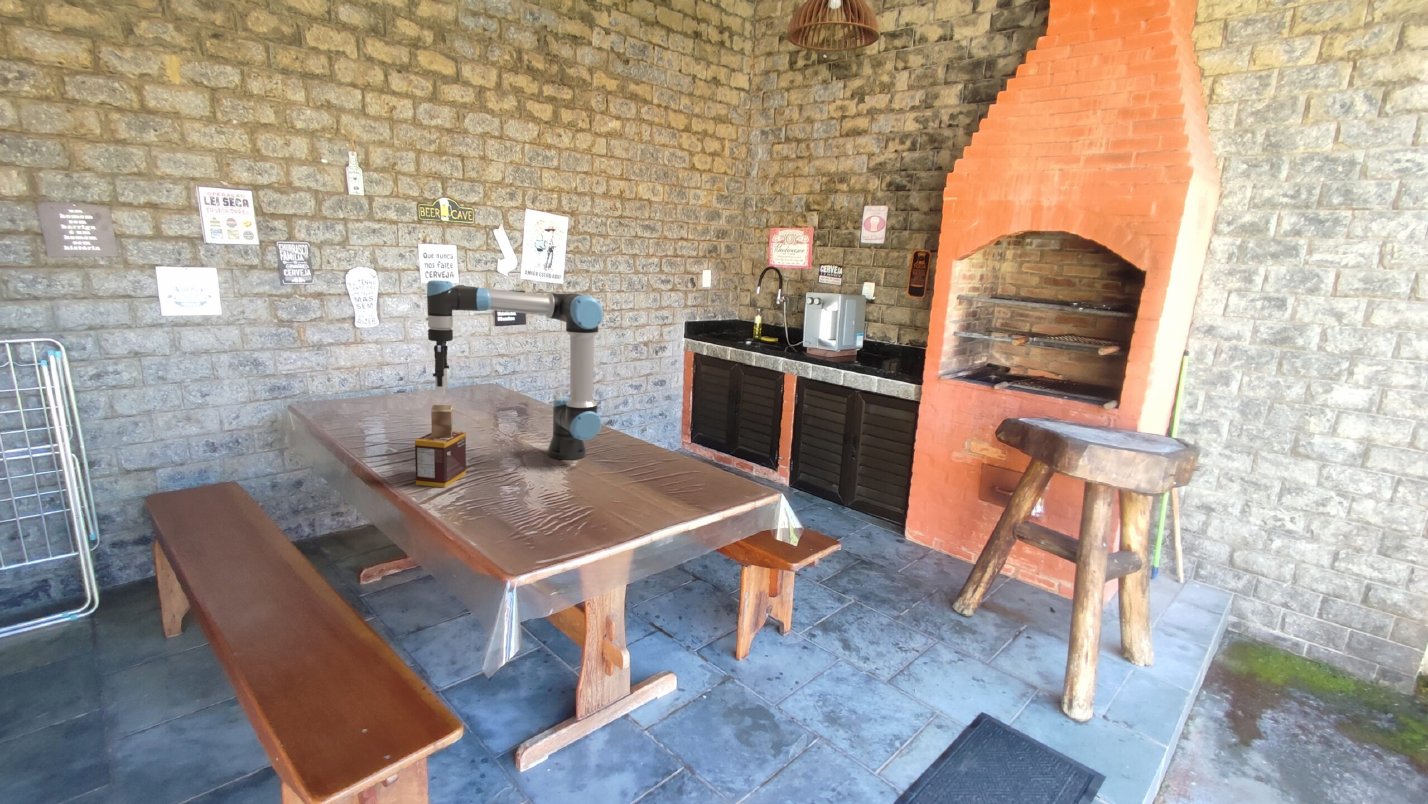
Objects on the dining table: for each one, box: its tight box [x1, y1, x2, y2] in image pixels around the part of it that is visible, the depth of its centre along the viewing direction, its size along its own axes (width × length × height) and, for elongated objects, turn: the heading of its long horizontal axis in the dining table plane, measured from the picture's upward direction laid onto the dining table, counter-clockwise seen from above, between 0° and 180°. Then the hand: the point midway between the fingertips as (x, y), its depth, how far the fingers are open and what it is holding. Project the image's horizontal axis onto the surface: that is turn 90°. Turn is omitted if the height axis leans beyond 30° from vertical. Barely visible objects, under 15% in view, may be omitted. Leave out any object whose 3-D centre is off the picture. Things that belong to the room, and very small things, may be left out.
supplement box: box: [414, 430, 467, 489], centre depth 224 cm, size 10×15×16 cm
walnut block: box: [430, 404, 453, 438], centre depth 221 cm, size 6×6×10 cm
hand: (441, 391), depth 219 cm, fingers open, 13 cm apart
